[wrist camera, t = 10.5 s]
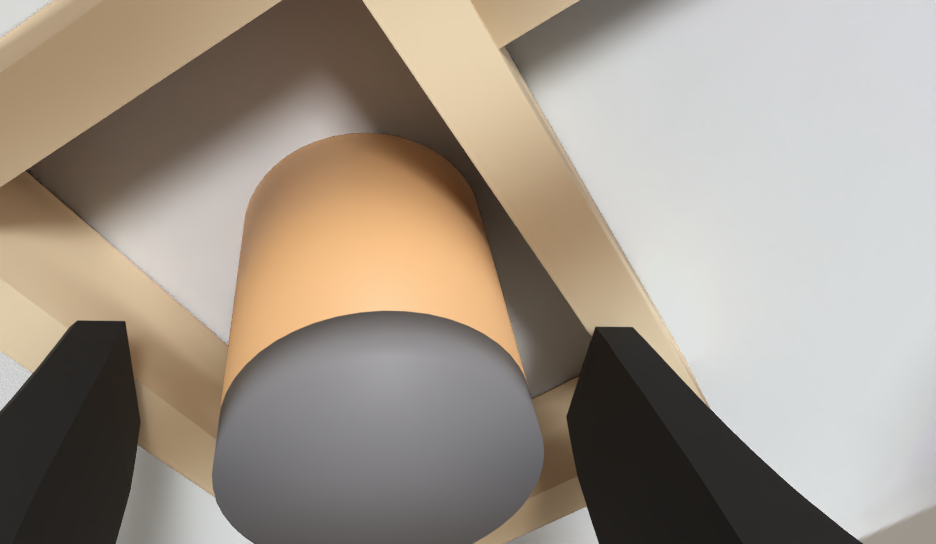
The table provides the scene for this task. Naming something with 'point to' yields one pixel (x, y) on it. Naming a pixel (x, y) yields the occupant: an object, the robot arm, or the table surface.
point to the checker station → (172, 326)
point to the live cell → (371, 358)
